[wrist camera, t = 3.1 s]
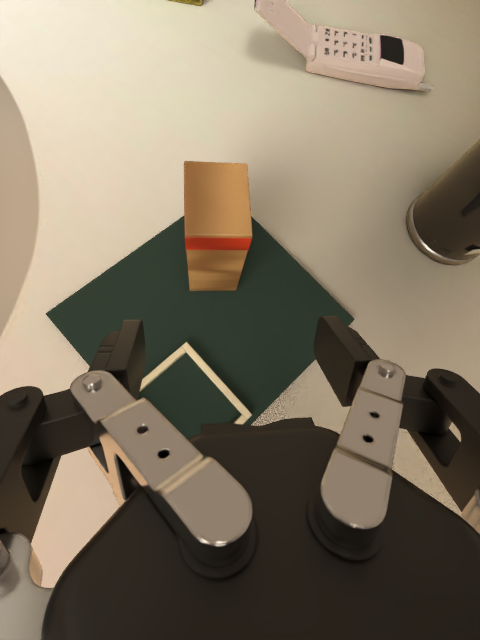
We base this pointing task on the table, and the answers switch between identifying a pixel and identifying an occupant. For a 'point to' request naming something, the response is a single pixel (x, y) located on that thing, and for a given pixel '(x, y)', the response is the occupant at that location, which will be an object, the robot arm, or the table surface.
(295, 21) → the mobile phone
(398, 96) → the table surface
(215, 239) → the box
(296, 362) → the mat
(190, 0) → the hardcover book
